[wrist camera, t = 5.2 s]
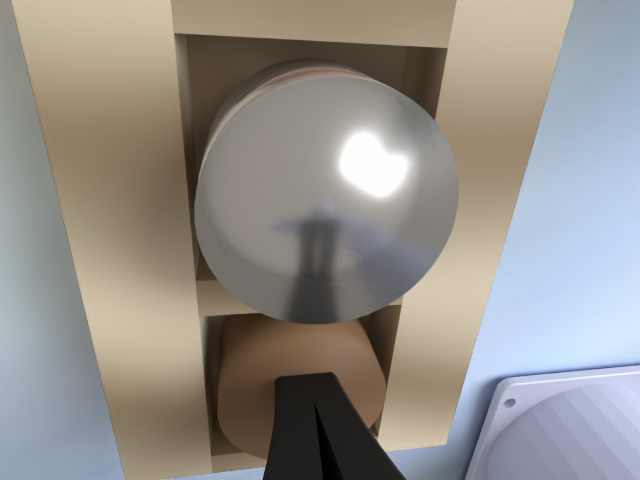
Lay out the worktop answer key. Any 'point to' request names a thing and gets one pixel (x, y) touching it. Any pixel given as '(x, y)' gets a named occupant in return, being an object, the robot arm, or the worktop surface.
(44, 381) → the worktop surface
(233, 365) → the walnut button
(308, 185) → the steel button
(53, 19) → the light wooden flat frame
